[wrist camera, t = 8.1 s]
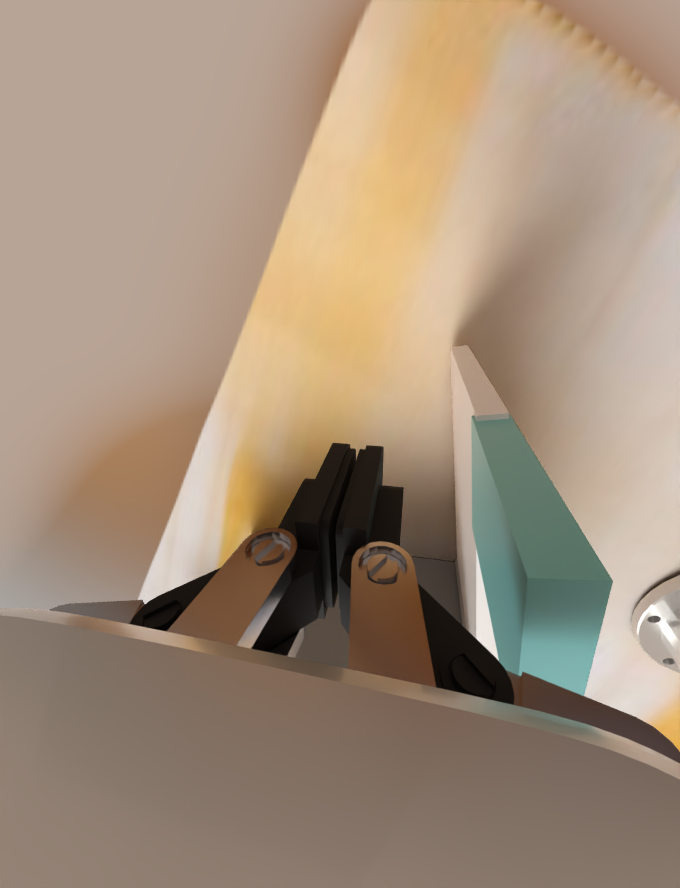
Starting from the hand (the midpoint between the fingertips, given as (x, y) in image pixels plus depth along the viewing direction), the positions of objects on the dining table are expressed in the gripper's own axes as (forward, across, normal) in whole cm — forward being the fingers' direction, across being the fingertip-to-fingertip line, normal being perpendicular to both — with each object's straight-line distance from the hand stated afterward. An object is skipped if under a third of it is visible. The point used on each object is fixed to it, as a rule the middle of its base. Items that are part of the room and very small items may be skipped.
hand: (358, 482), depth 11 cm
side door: (+13, -6, +7) cm, 16 cm away
